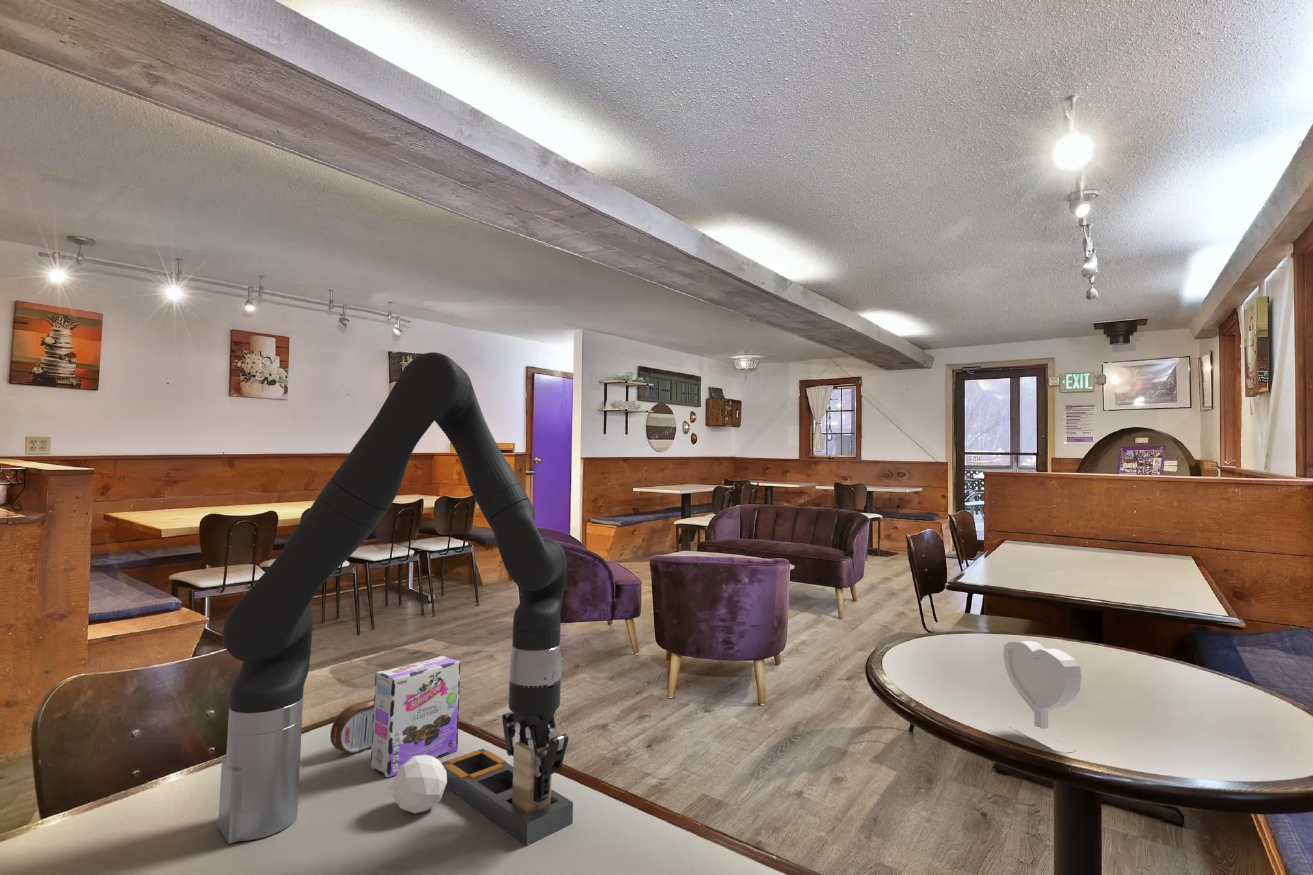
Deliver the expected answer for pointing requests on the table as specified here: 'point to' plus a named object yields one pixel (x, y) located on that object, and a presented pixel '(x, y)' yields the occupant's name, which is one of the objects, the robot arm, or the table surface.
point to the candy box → (415, 713)
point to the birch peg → (526, 780)
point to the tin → (354, 728)
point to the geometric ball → (419, 783)
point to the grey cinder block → (503, 796)
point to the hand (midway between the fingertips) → (531, 793)
